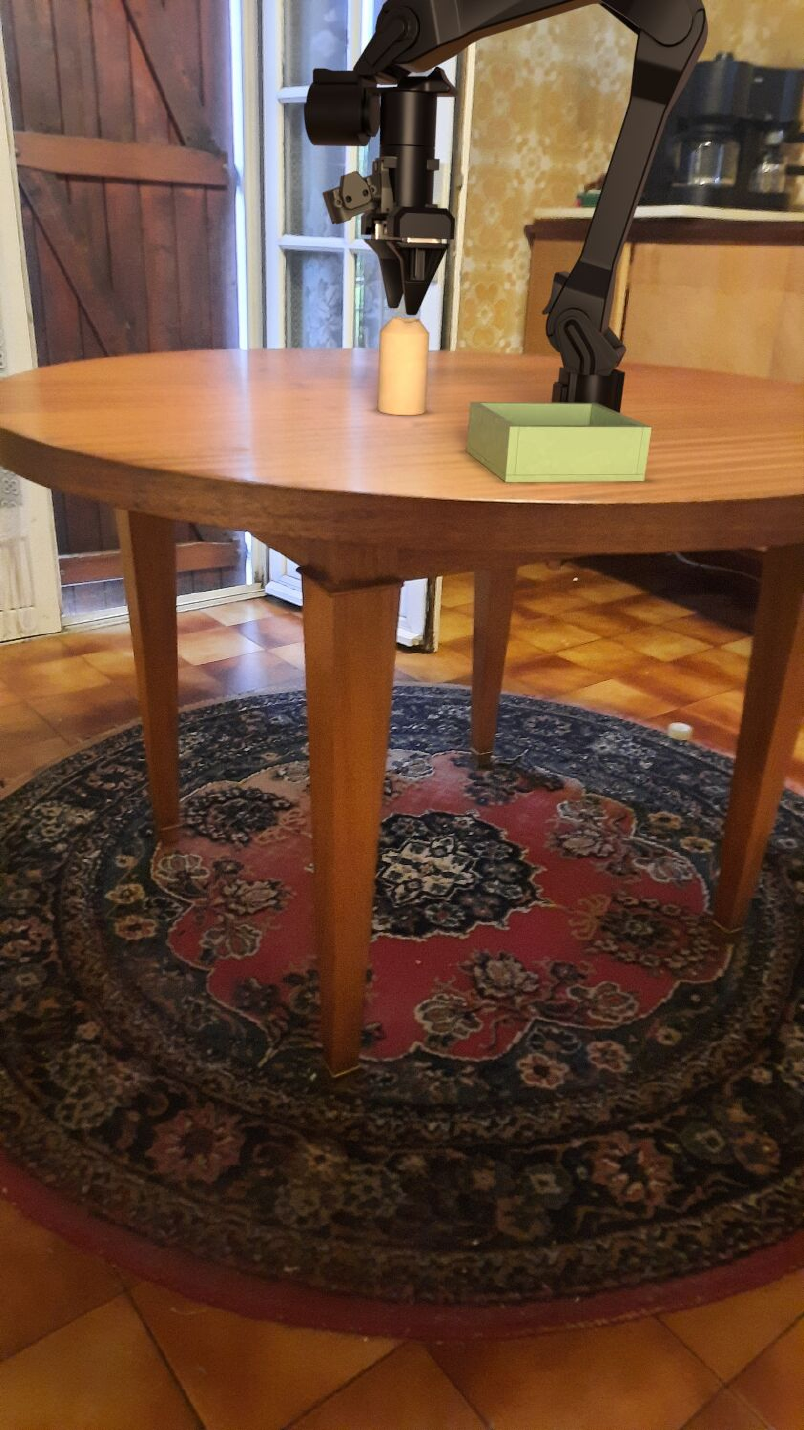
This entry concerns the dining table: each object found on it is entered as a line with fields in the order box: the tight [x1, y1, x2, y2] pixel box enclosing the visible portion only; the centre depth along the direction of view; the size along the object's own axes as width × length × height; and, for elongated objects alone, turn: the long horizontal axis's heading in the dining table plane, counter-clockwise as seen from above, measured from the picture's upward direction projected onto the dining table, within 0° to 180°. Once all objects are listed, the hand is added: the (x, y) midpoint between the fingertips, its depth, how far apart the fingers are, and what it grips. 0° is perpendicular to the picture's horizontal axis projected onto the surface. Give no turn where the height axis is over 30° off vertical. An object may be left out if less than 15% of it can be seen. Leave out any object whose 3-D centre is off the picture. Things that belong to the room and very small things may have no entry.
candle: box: [377, 316, 430, 416], centre depth 114 cm, size 6×6×10 cm
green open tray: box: [466, 401, 653, 483], centre depth 92 cm, size 13×13×5 cm
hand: (401, 311), depth 111 cm, fingers open, 9 cm apart
